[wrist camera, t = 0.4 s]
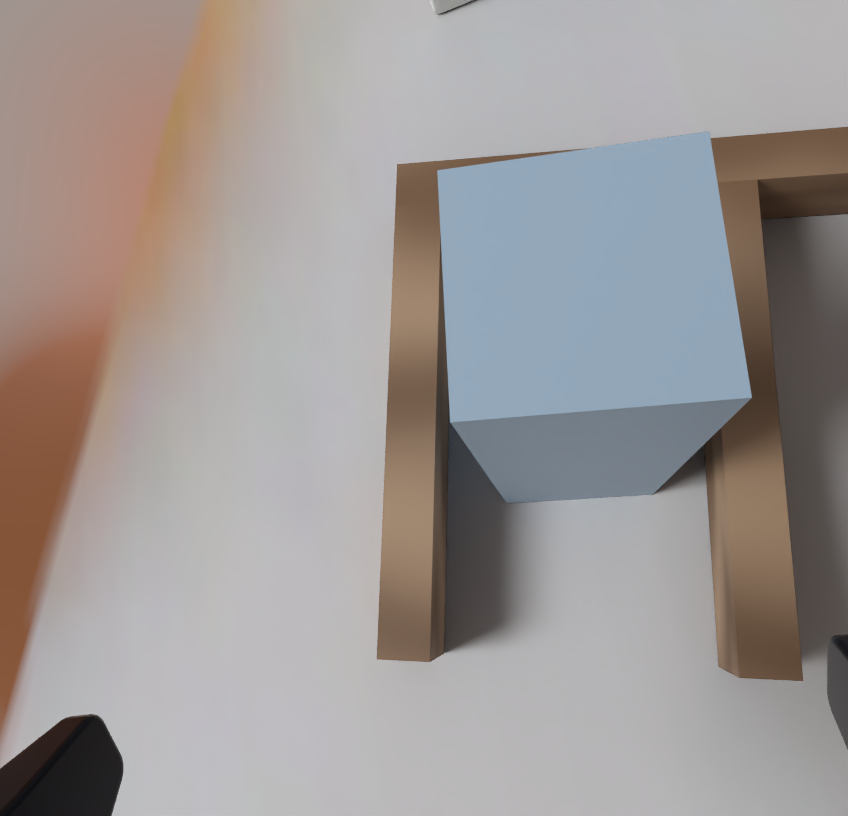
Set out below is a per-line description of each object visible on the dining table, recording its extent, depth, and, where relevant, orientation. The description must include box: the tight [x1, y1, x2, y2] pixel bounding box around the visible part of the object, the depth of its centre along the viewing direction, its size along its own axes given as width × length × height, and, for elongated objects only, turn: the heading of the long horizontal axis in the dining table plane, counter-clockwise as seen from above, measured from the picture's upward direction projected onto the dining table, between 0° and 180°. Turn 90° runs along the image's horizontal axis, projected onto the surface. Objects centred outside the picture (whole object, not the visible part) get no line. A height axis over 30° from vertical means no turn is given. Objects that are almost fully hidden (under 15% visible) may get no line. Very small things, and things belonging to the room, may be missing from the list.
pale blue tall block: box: [437, 131, 752, 503], centre depth 17 cm, size 4×4×12 cm
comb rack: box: [377, 127, 848, 681], centre depth 21 cm, size 16×20×2 cm
